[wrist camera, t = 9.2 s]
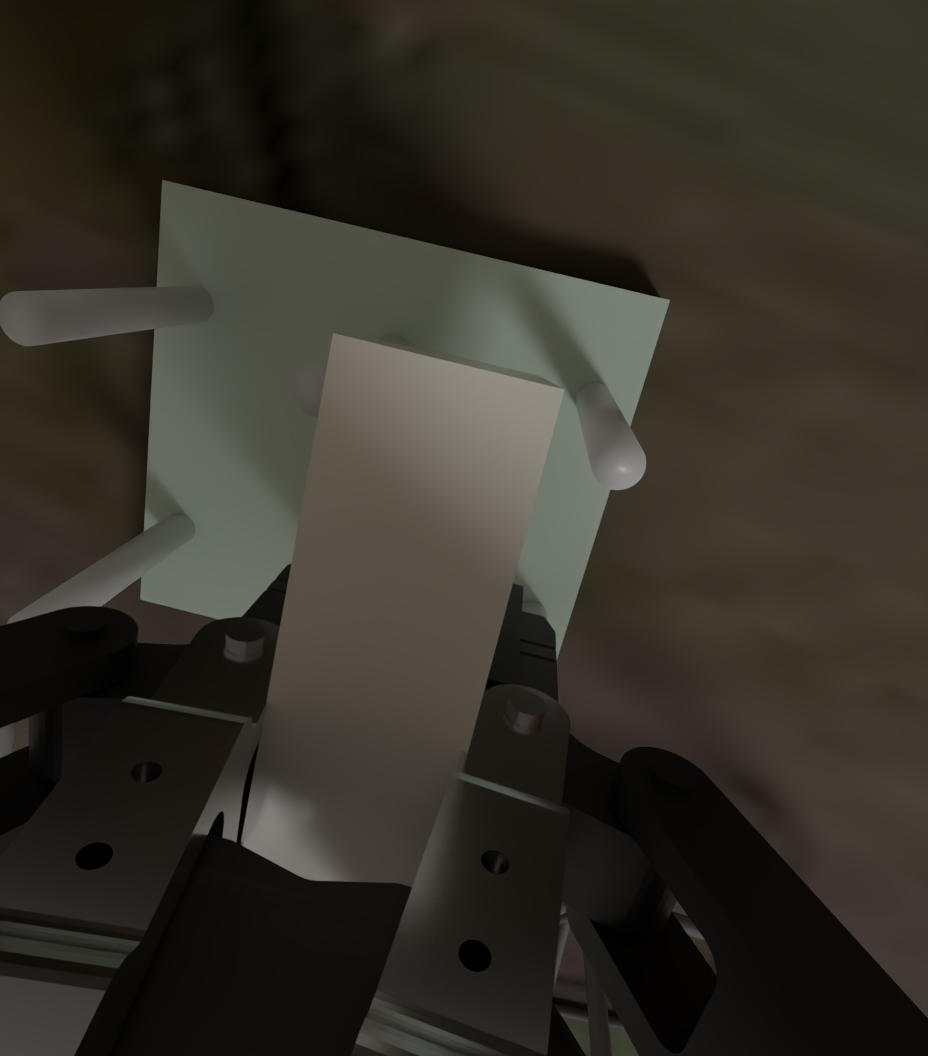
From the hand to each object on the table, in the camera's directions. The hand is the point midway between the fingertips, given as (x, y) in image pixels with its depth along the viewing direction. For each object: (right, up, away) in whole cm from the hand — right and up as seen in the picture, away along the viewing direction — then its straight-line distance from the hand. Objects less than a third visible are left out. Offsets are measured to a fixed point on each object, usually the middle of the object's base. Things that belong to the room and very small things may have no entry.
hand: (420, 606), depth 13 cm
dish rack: (-2, +4, +9) cm, 10 cm away
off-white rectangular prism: (0, +1, +4) cm, 5 cm away
